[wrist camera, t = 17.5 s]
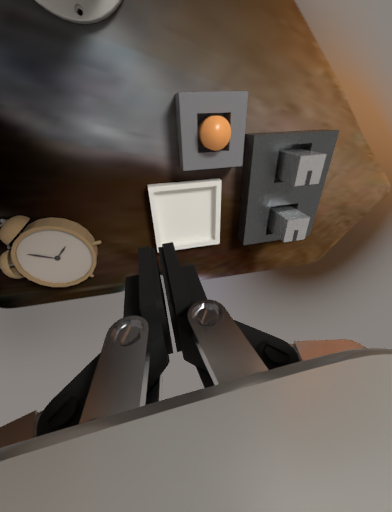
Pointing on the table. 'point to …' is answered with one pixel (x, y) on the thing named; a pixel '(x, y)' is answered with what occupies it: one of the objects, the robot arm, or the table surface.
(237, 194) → the table surface
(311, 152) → the billet
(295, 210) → the block
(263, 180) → the grey slotted frame
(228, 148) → the button housing
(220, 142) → the button cap
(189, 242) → the tray
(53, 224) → the alarm clock
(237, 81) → the table surface
